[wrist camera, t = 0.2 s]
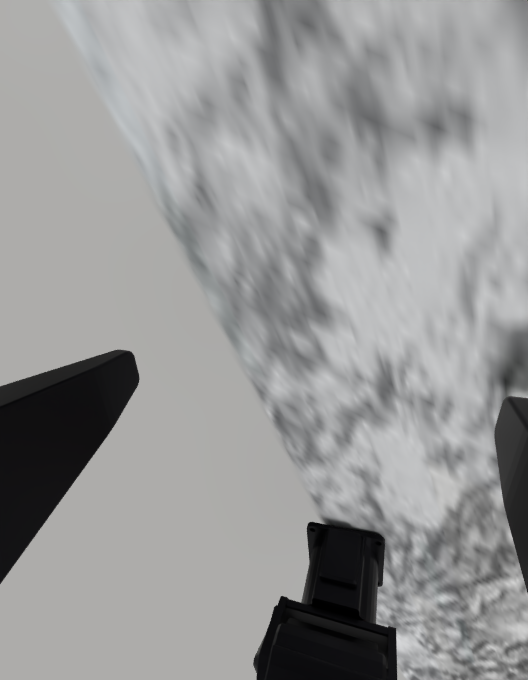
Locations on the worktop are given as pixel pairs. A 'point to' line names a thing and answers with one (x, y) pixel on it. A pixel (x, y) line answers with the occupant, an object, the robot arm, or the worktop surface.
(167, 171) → the worktop surface
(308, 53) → the worktop surface
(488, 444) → the worktop surface
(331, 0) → the worktop surface
